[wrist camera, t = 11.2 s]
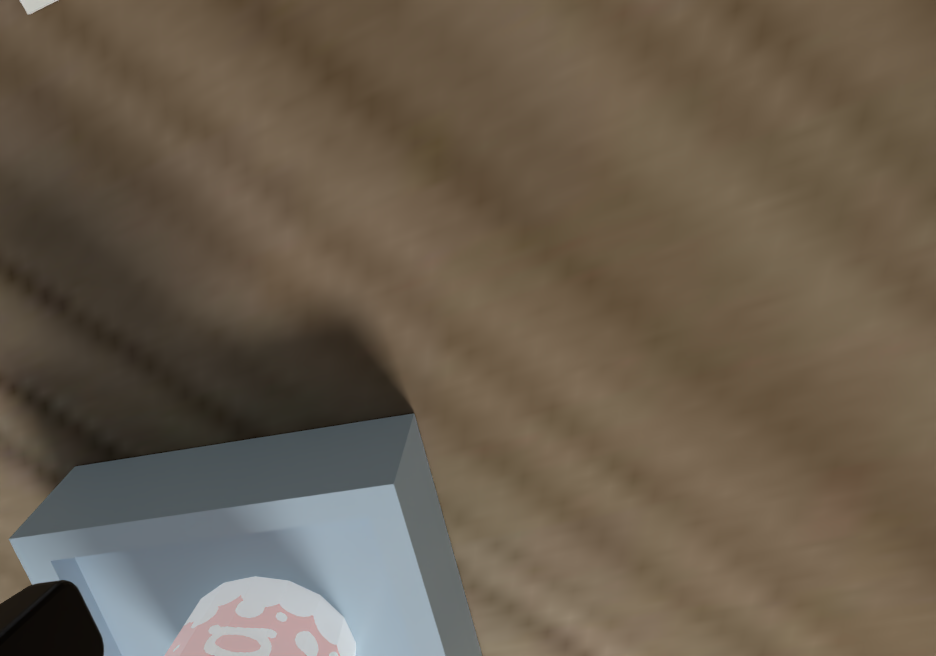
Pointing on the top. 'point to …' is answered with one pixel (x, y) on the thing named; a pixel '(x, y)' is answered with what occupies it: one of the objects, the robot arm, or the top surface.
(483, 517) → the top surface
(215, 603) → the beverage cup
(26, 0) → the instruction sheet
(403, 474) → the rectangular tray
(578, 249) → the top surface
